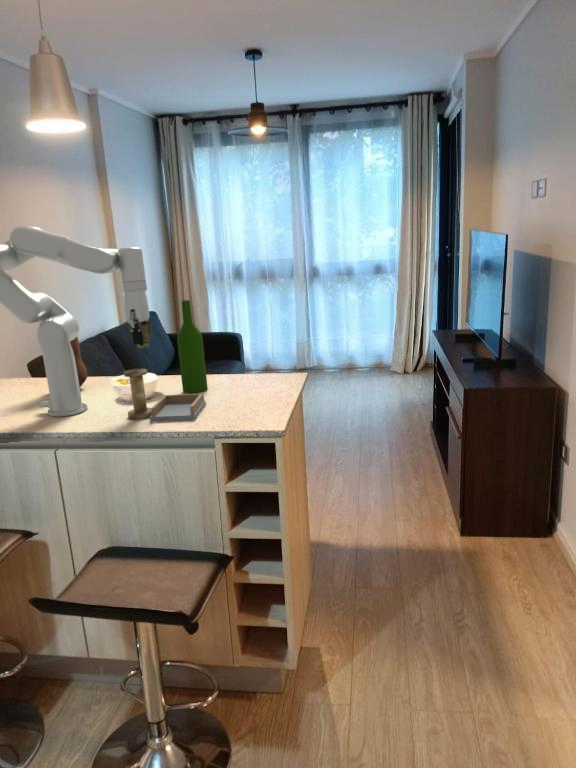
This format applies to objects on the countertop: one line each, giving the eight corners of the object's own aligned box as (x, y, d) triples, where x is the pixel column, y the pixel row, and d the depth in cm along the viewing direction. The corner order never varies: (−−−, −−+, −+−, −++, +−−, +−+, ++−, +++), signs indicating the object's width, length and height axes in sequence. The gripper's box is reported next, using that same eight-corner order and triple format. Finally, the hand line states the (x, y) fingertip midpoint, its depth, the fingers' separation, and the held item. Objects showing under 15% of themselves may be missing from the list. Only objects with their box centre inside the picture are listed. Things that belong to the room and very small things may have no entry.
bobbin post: (124, 420, 184) (118, 374, 181) (133, 412, 192) (127, 369, 188) (149, 419, 183) (144, 373, 180) (157, 411, 191) (151, 367, 188)
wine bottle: (202, 386, 221) (192, 298, 213) (211, 390, 213) (202, 300, 205) (179, 390, 216) (169, 301, 209) (188, 395, 209) (178, 302, 201)
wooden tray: (150, 421, 180) (148, 409, 180) (164, 407, 196) (163, 395, 195) (195, 419, 179) (194, 407, 178) (206, 405, 195) (204, 393, 194)
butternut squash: (62, 387, 236) (51, 324, 230) (94, 385, 235) (85, 322, 229) (46, 396, 222) (34, 330, 216) (80, 394, 221) (70, 328, 215)
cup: (154, 347, 191) (151, 322, 189) (131, 350, 189) (127, 325, 187) (154, 343, 198) (151, 319, 196) (131, 346, 197) (128, 322, 195)
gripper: (132, 285, 198) (140, 338, 202) (113, 290, 181) (121, 347, 185) (154, 283, 197) (161, 336, 201) (137, 288, 180) (145, 346, 185)
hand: (142, 341), depth 193 cm, fingers closed on cup, 6 cm apart
